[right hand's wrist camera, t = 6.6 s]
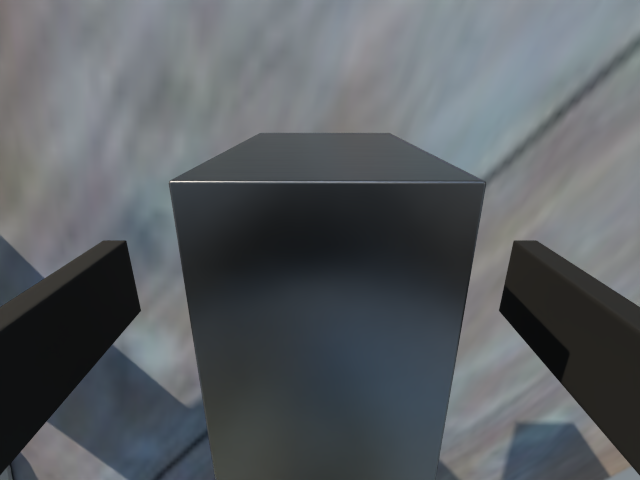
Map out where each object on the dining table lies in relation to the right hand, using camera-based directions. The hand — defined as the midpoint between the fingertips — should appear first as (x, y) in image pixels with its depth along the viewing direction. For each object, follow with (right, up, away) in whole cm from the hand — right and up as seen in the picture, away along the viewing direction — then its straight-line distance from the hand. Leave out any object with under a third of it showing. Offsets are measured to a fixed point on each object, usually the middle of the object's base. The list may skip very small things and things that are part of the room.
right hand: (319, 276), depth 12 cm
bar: (0, -11, +8) cm, 14 cm away
